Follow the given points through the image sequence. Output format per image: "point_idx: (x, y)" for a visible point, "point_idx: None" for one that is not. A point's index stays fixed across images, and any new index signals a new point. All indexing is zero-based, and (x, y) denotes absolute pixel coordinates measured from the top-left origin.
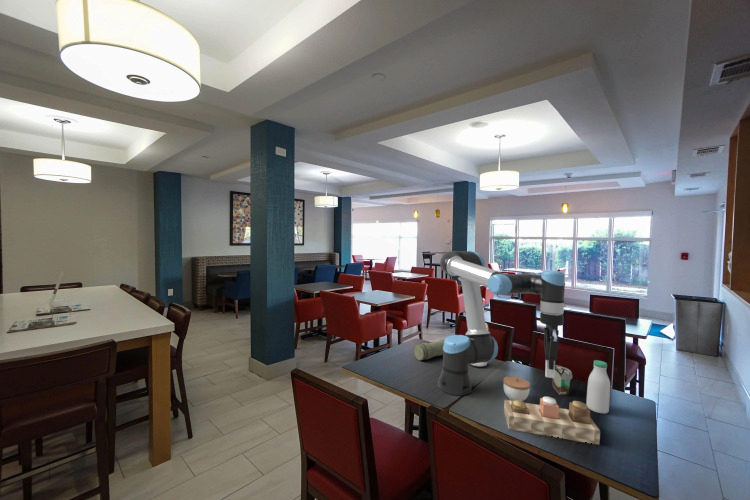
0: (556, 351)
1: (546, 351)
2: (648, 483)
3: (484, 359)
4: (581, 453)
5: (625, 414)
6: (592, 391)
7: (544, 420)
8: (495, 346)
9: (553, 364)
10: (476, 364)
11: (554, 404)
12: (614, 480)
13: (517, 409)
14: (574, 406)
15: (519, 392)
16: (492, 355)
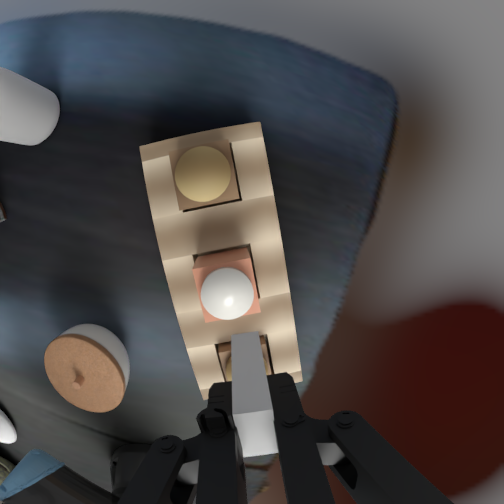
0: (415, 477)
1: (246, 502)
2: (365, 72)
3: (81, 483)
4: (324, 187)
5: (44, 56)
6: (18, 122)
7: (282, 291)
8: (24, 482)
9: (298, 398)
10: (11, 426)
11: (245, 274)
12: (392, 139)
13: (270, 370)
14: (219, 196)
15: (123, 362)
16: (51, 472)
